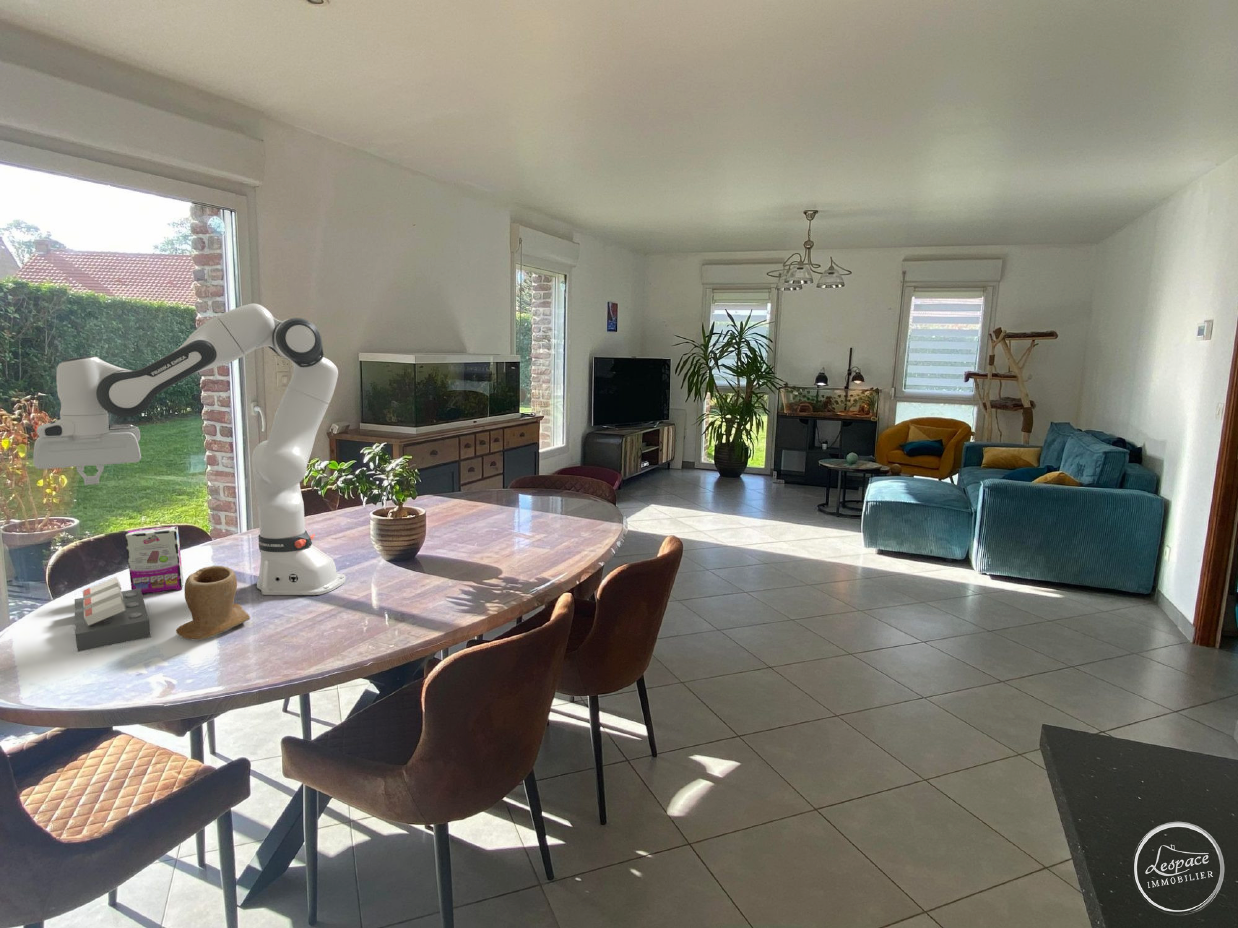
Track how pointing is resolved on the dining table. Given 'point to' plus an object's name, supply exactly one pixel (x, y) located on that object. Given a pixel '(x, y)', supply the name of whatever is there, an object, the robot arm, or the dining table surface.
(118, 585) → the rocker
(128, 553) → the candy bar box
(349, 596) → the dining table surface
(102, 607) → the rocker
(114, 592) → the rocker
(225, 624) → the stone cup
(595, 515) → the dining table surface
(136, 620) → the switch panel
